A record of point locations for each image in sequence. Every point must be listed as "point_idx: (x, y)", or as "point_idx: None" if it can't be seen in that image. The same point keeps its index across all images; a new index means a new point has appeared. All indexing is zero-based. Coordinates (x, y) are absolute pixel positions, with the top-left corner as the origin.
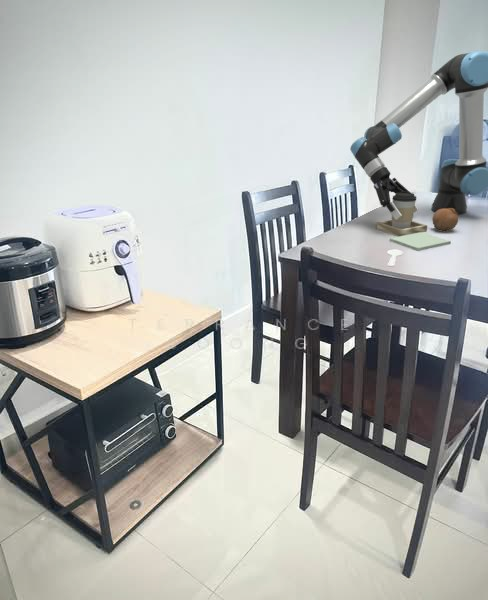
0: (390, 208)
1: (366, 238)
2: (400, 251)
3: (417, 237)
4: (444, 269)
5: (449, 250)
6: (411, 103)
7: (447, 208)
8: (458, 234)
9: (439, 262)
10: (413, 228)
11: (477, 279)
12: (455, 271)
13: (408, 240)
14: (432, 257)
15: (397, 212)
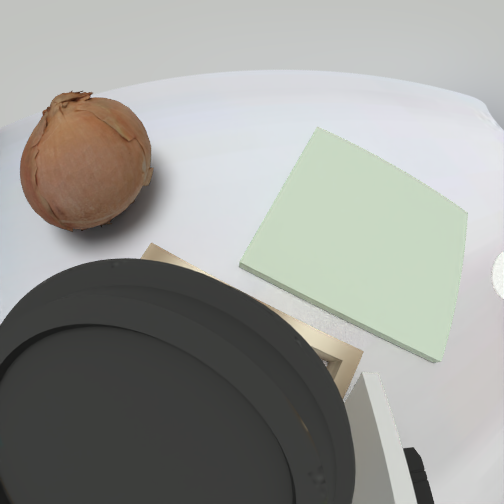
0: (417, 479)
1: (444, 461)
2: (497, 265)
3: (357, 250)
4: (496, 146)
5: (387, 133)
6: None
7: (46, 121)
8: (155, 132)
9: (479, 155)
10: (261, 302)
11: (481, 103)
12: (487, 129)
13: (423, 272)
14: (469, 171)
15: (385, 412)
